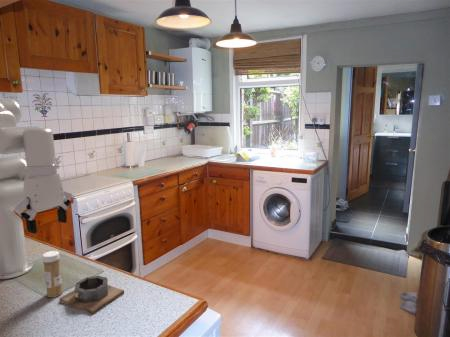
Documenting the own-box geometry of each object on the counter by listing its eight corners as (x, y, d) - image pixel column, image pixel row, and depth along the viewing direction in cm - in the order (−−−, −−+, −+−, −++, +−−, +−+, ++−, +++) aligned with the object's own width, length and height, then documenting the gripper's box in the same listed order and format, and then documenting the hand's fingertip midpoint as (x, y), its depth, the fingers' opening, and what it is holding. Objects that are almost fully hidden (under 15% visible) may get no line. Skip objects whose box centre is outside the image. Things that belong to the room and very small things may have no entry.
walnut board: (59, 301, 99) (59, 298, 98) (92, 282, 109) (92, 279, 109) (93, 314, 92) (92, 311, 92) (124, 293, 103) (123, 290, 103)
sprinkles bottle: (64, 295, 102) (60, 254, 100) (47, 299, 100) (42, 258, 97) (61, 288, 106) (57, 249, 103) (45, 292, 103) (41, 252, 101)
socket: (66, 299, 98) (65, 288, 97) (96, 282, 107) (95, 272, 107) (88, 307, 94) (87, 296, 93) (116, 289, 103) (115, 278, 103)
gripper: (60, 165, 105) (65, 217, 108) (3, 175, 90) (11, 234, 93) (76, 167, 102) (81, 220, 105) (20, 177, 86) (27, 239, 89)
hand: (48, 227), depth 99 cm, fingers open, 9 cm apart
